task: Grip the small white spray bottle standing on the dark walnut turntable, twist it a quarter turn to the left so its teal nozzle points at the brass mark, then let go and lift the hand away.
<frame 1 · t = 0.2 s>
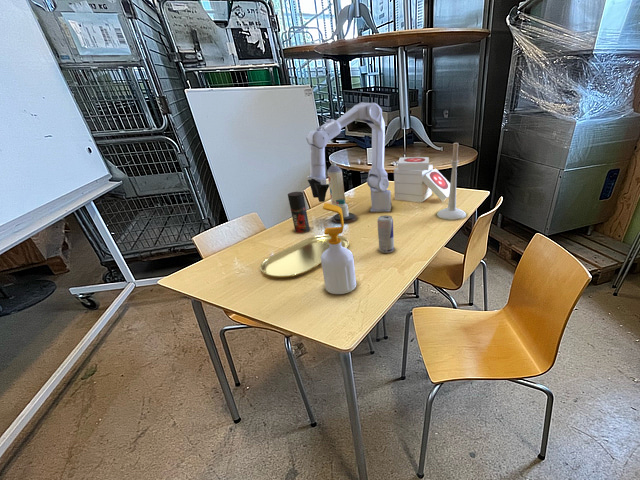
hand: (318, 199, 139), 11 cm above the table, tool pointing down, fingers open, 7 cm apart
pizza boxes: (423, 198, 173), on the table
energy drink: (386, 250, 120), on the table
turntable base: (344, 219, 148), on the table
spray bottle: (343, 208, 146), point 5 cm above the table, hinge at 0.0°
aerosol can: (338, 205, 166), on the table
serving platter: (308, 257, 117), on the table
candlestick: (451, 215, 150), on the table
soap bottle: (341, 287, 99), on the table
deodorant: (302, 230, 139), on the table
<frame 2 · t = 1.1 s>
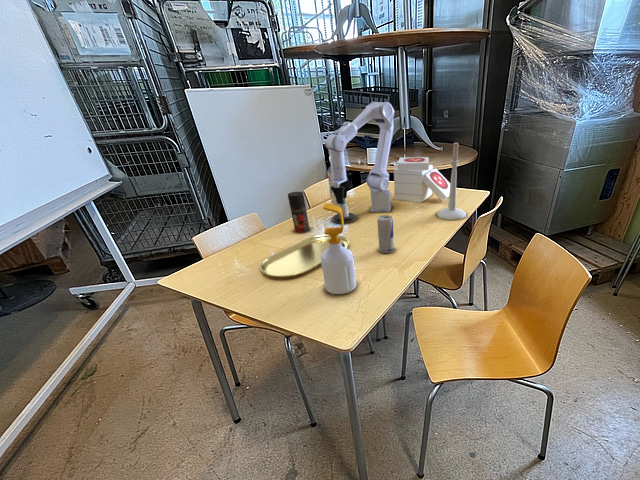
hand: (342, 200, 144), 8 cm above the table, tool pointing down, fingers open, 7 cm apart
nothing on the table moved.
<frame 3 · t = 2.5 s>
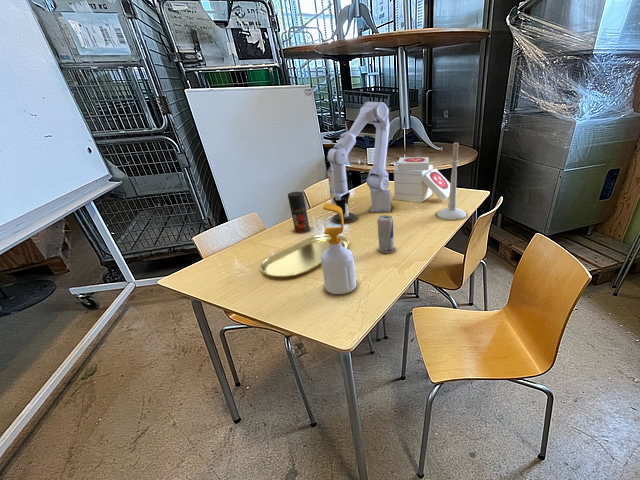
hand: (343, 211, 146), 3 cm above the table, tool pointing down, fingers closed on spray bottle, 4 cm apart
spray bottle: (343, 208, 146), point 5 cm above the table, hinge at -0.1°, touching gripper
everything else where it was.
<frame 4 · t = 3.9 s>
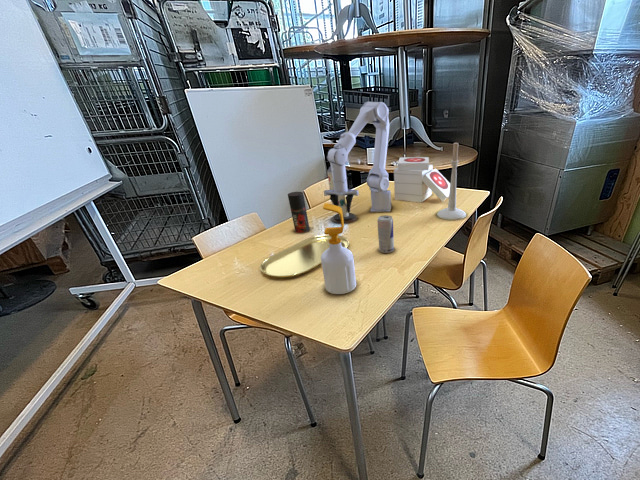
hand: (343, 211, 146), 3 cm above the table, tool pointing down, fingers closed on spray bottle, 4 cm apart
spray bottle: (343, 208, 146), point 5 cm above the table, hinge at 89.6°, touching gripper
everything else where it was.
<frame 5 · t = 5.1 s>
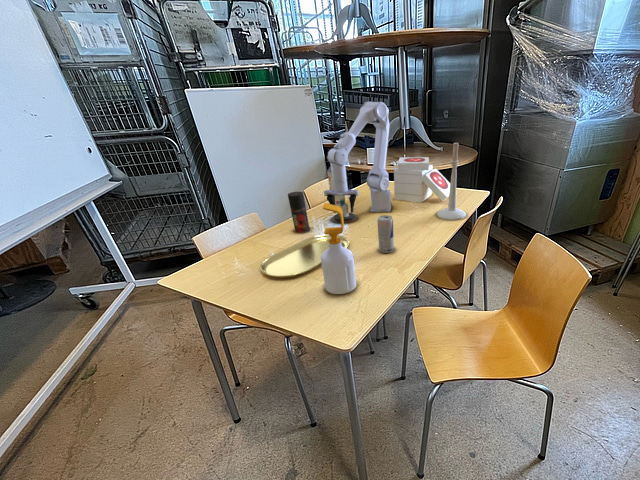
hand: (343, 212, 146), 3 cm above the table, tool pointing down, fingers open, 7 cm apart
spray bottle: (343, 208, 146), point 5 cm above the table, hinge at 89.6°
everything else where it was.
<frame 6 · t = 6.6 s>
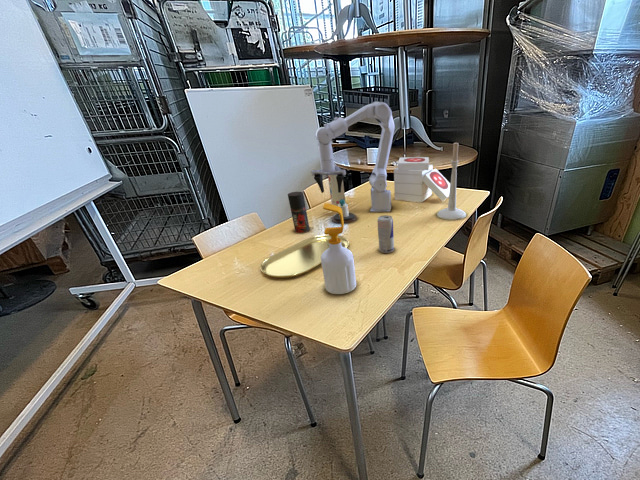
hand: (331, 192, 148), 10 cm above the table, tool pointing down, fingers open, 7 cm apart
nothing on the table moved.
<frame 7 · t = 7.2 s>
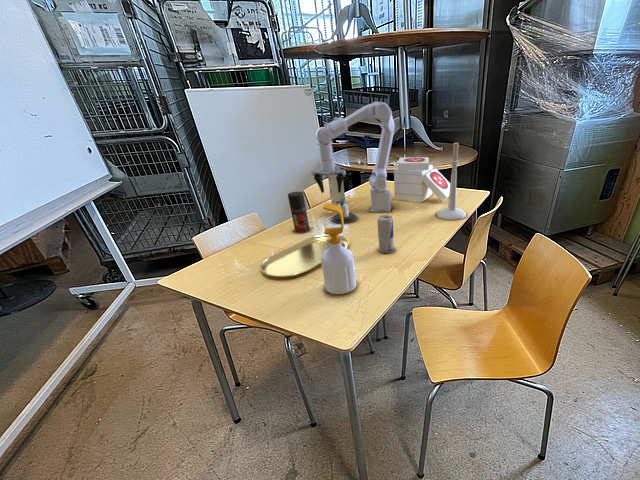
hand: (331, 192, 148), 10 cm above the table, tool pointing down, fingers open, 7 cm apart
nothing on the table moved.
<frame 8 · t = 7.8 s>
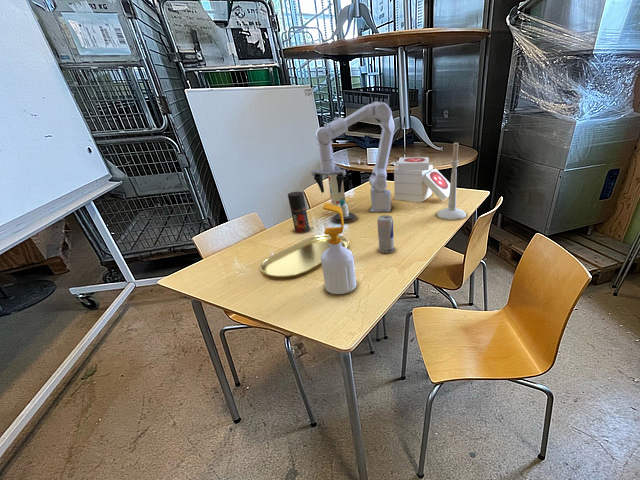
hand: (331, 192, 148), 10 cm above the table, tool pointing down, fingers open, 7 cm apart
nothing on the table moved.
at the end: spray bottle at +90° (first picture: +0°); the gripper is holding nothing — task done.
